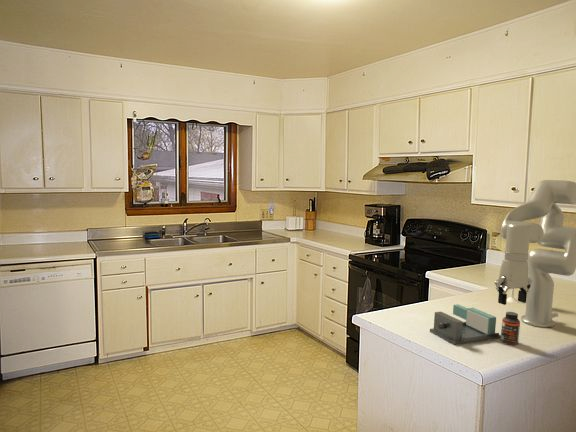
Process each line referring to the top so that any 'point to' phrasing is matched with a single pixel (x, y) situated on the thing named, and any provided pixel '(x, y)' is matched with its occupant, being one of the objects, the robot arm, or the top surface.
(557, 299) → the top surface
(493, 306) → the top surface
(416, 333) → the top surface
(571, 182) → the robot arm
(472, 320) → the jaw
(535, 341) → the top surface
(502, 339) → the supplement bottle
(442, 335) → the vise
